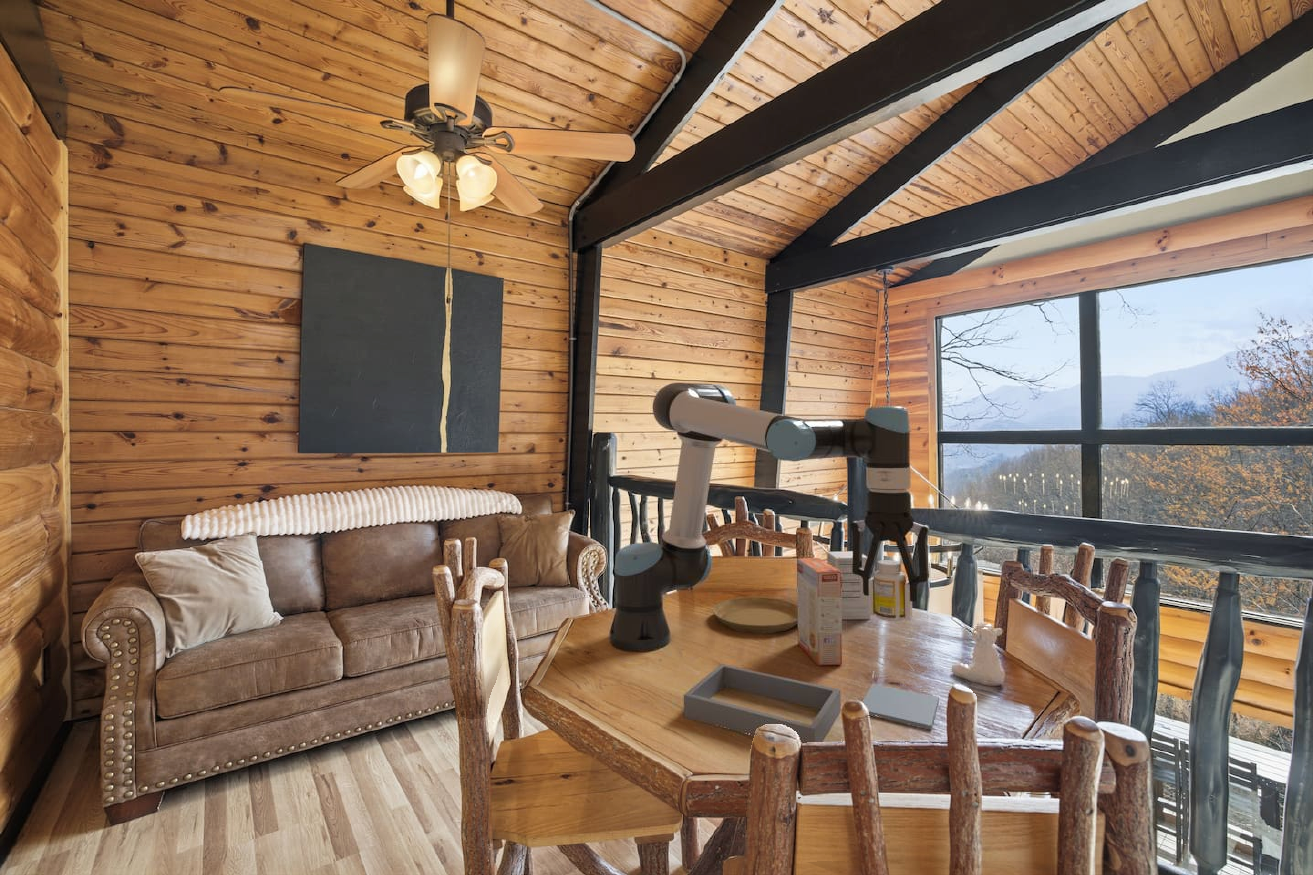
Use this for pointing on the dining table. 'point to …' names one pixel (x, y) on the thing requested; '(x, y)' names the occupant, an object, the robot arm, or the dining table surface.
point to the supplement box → (850, 586)
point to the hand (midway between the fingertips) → (890, 615)
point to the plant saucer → (757, 614)
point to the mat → (901, 706)
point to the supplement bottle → (889, 591)
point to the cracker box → (820, 610)
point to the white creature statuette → (983, 658)
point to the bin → (766, 685)
